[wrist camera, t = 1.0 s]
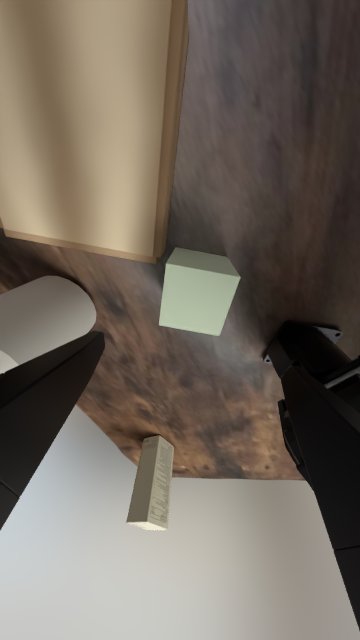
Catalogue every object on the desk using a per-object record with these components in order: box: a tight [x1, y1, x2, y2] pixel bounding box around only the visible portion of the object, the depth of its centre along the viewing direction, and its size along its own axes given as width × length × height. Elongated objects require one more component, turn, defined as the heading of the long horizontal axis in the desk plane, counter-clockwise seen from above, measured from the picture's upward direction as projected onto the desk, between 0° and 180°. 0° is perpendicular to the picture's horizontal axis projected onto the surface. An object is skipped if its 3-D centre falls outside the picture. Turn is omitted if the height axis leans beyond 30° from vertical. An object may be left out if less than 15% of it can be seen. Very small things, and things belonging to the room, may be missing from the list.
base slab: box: [0, 0, 189, 264], centre depth 12 cm, size 13×13×3 cm
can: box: [0, 276, 96, 374], centre depth 16 cm, size 8×8×12 cm
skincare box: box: [127, 435, 174, 530], centre depth 33 cm, size 6×4×12 cm
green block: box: [159, 247, 241, 336], centre depth 15 cm, size 5×5×6 cm
